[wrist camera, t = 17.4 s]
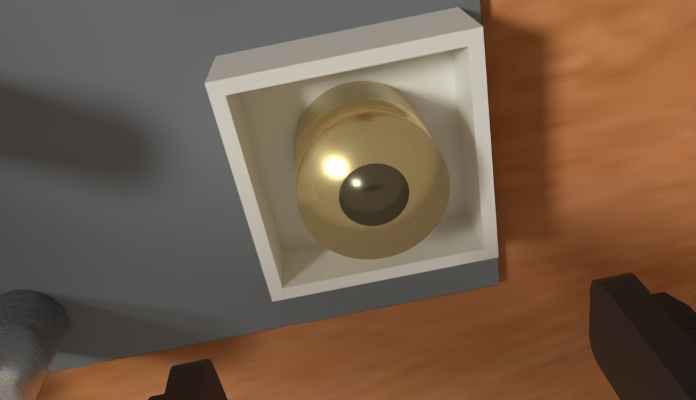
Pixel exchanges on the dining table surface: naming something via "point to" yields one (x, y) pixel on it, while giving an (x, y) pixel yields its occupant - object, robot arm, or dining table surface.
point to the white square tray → (332, 70)
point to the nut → (368, 172)
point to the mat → (155, 172)
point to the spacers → (28, 341)
